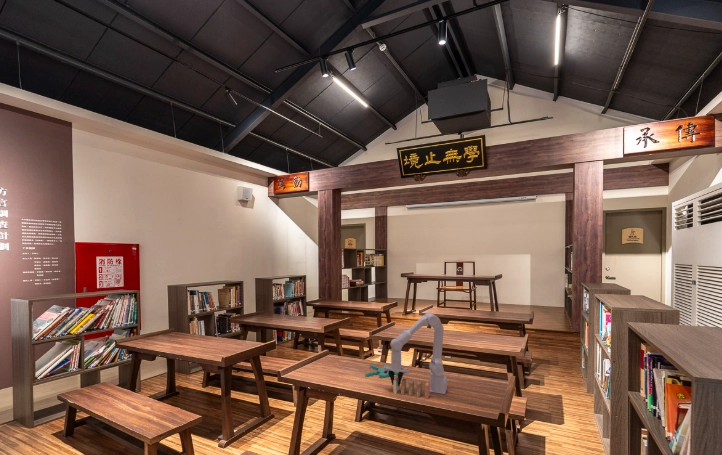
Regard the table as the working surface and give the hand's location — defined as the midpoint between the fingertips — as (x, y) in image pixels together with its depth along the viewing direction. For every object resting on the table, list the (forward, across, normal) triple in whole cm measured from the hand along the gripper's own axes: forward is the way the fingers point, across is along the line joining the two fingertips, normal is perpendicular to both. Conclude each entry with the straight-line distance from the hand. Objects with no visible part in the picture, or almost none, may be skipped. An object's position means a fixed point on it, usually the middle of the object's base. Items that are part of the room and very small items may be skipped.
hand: (396, 385), depth 205 cm
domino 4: (+4, -18, 0) cm, 18 cm away
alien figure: (+4, +17, -27) cm, 32 cm away
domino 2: (+4, -9, 0) cm, 10 cm away
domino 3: (+4, -14, 0) cm, 14 cm away
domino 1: (+4, -4, 0) cm, 6 cm away
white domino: (+4, 0, 0) cm, 4 cm away
